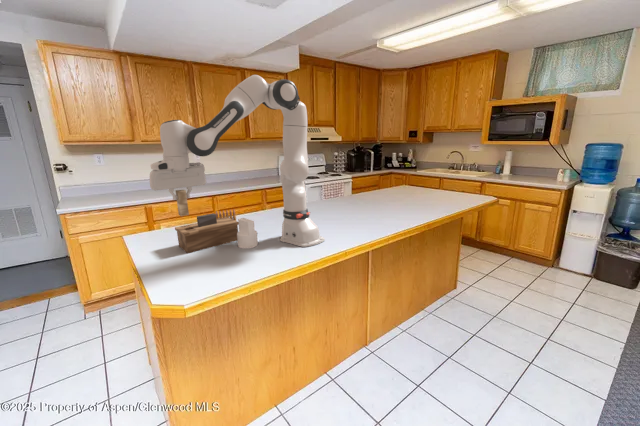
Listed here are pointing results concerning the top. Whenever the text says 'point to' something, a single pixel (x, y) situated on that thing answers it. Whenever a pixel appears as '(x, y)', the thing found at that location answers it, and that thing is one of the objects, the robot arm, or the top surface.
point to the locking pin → (182, 202)
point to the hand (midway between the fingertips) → (181, 198)
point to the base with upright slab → (246, 234)
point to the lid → (205, 225)
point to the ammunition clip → (226, 215)
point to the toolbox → (207, 239)
